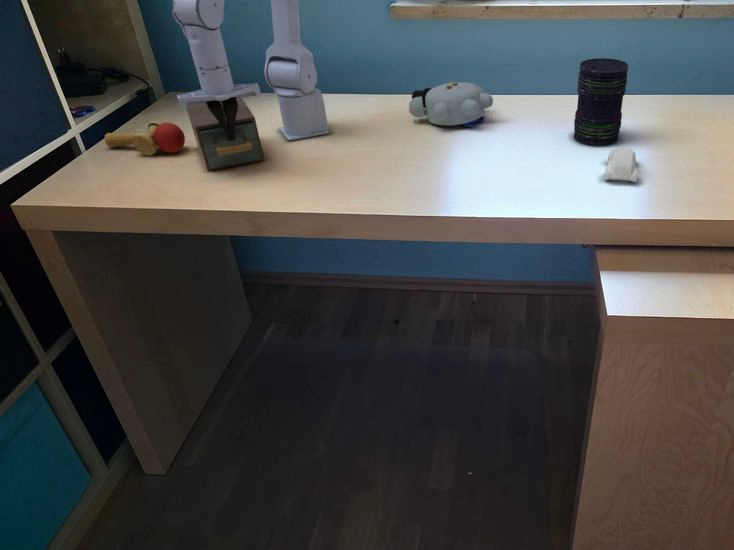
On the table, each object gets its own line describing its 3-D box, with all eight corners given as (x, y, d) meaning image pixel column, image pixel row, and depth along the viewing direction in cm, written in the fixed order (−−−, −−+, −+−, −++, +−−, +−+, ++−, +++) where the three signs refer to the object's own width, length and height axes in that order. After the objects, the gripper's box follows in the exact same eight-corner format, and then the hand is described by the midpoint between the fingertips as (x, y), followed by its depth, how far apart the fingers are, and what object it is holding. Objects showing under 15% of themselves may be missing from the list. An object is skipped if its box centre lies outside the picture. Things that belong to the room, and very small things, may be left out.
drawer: (266, 167, 127) (258, 131, 122) (214, 177, 123) (203, 141, 119) (249, 138, 139) (241, 105, 134) (201, 147, 135) (191, 113, 131)
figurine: (507, 113, 149) (440, 107, 159) (504, 75, 144) (436, 71, 154) (463, 137, 138) (395, 128, 149) (459, 96, 133) (388, 90, 144)
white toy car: (637, 186, 119) (640, 162, 116) (603, 184, 120) (606, 160, 117) (637, 160, 128) (640, 138, 125) (605, 158, 129) (608, 136, 126)
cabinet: (264, 160, 131) (254, 117, 126) (207, 171, 128) (194, 127, 122) (251, 138, 141) (241, 97, 135) (198, 148, 137) (185, 106, 131)
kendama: (102, 161, 136) (174, 155, 131) (91, 130, 133) (164, 123, 128) (127, 153, 142) (196, 147, 138) (116, 124, 139) (187, 116, 135)
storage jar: (597, 126, 143) (605, 55, 134) (628, 139, 137) (639, 66, 127) (563, 136, 139) (569, 63, 129) (594, 150, 132) (602, 75, 123)
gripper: (172, 77, 110) (195, 153, 118) (256, 65, 115) (272, 139, 123) (167, 66, 115) (190, 140, 123) (249, 55, 120) (265, 127, 128)
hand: (231, 139), depth 124 cm, fingers closed
